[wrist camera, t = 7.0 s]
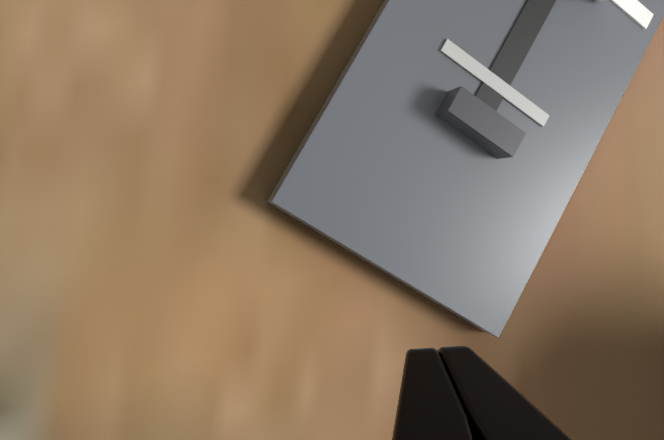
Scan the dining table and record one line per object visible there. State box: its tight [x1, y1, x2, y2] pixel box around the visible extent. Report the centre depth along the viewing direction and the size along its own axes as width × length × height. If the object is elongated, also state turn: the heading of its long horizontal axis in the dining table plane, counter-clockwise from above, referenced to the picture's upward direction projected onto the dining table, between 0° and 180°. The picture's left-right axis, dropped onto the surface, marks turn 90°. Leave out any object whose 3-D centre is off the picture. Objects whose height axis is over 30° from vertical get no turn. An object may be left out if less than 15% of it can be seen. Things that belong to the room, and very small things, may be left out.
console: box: [267, 0, 664, 338], centre depth 22 cm, size 18×10×2 cm, turn 149°
